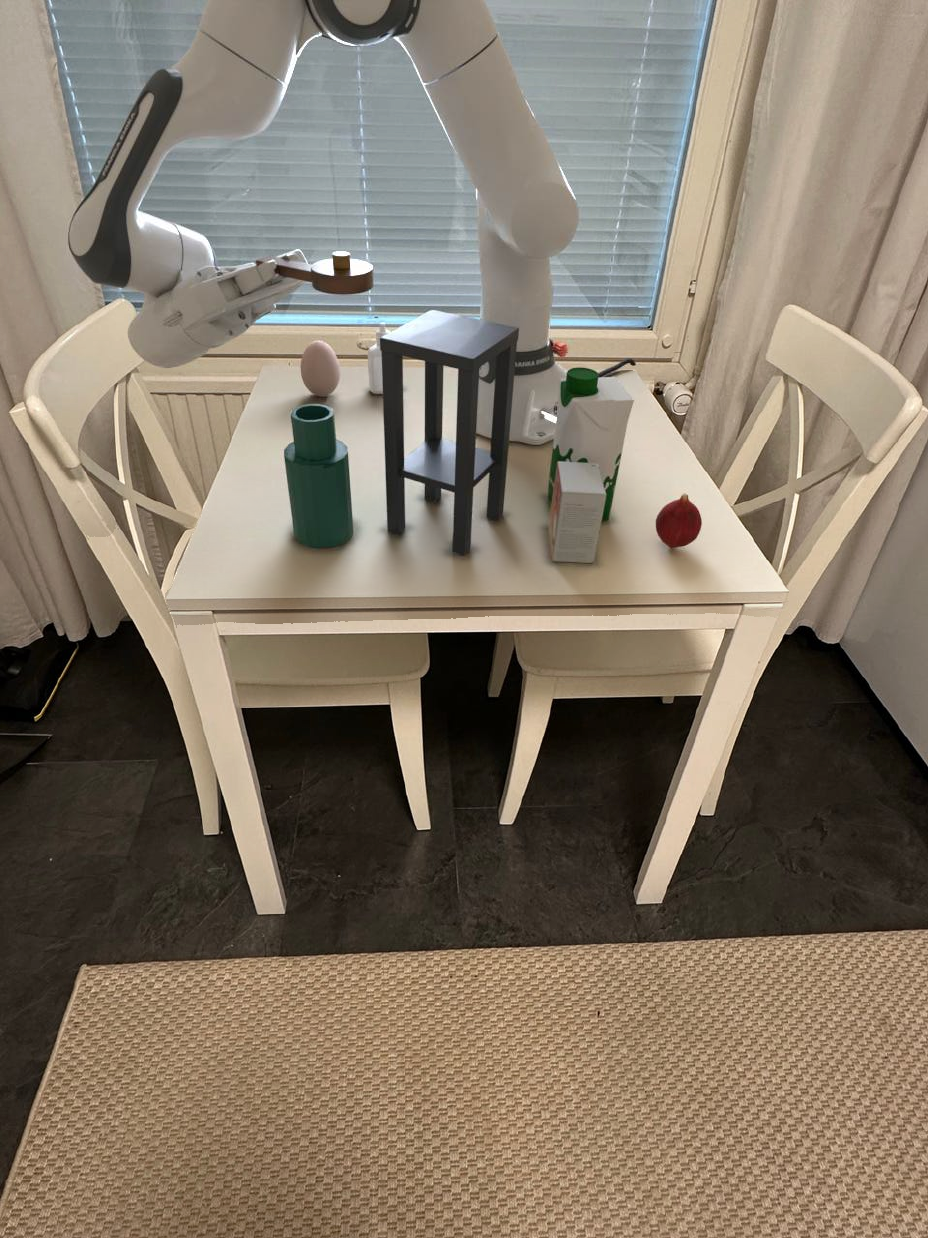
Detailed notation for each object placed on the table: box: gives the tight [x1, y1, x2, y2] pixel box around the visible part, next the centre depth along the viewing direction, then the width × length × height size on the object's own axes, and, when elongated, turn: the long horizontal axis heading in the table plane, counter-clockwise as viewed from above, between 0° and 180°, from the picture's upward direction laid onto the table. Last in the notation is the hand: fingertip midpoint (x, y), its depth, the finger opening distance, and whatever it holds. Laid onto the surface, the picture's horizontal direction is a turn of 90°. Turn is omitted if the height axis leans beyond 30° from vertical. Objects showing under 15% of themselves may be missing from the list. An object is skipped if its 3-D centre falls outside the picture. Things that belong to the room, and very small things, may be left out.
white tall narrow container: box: [367, 322, 391, 395], centre depth 135 cm, size 4×6×12 cm
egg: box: [300, 340, 341, 398], centre depth 132 cm, size 7×7×10 cm
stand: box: [380, 309, 519, 557], centre depth 96 cm, size 12×12×26 cm
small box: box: [547, 461, 606, 564], centre depth 98 cm, size 8×6×10 cm
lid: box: [255, 250, 375, 296], centre depth 87 cm, size 15×7×3 cm, turn 62°
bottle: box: [283, 403, 354, 549], centre depth 96 cm, size 8×8×17 cm
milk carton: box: [547, 367, 635, 521], centre depth 102 cm, size 9×9×20 cm
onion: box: [655, 492, 703, 549], centre depth 99 cm, size 6×6×8 cm
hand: (284, 263), depth 89 cm, fingers closed on lid, 2 cm apart
